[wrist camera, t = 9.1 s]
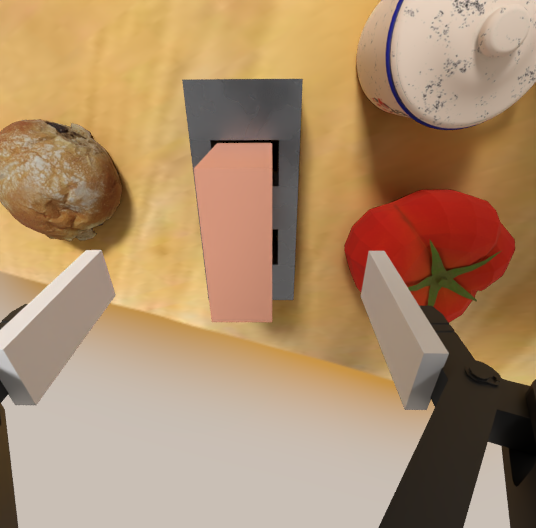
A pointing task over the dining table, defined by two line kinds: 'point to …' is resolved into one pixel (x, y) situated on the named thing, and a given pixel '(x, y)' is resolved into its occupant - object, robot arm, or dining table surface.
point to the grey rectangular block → (255, 128)
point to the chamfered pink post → (237, 230)
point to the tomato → (435, 246)
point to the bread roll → (57, 179)
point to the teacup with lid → (448, 59)
